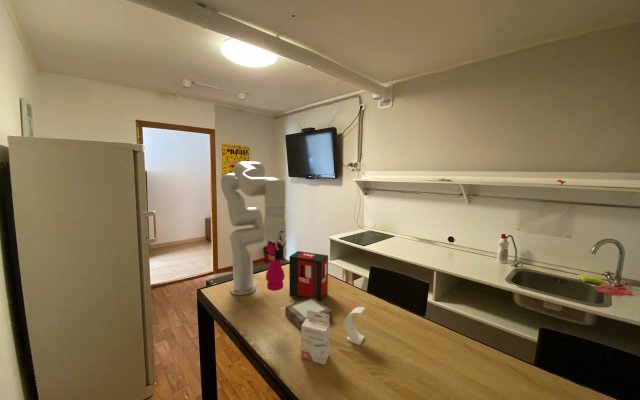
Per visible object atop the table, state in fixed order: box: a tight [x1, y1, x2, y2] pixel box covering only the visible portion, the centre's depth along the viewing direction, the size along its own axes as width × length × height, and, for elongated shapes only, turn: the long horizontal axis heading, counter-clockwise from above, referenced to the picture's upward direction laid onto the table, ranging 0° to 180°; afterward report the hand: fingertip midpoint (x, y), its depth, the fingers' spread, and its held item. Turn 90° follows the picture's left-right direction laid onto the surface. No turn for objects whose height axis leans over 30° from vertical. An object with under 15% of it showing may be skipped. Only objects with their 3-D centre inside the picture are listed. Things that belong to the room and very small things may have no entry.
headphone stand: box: [344, 306, 366, 346], centre depth 94 cm, size 5×6×12 cm
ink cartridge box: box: [300, 310, 331, 366], centre depth 84 cm, size 9×5×15 cm, turn 71°
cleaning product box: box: [288, 250, 329, 303], centre depth 126 cm, size 16×9×20 cm, turn 68°
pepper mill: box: [265, 242, 285, 292], centre depth 100 cm, size 7×7×20 cm
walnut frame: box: [285, 297, 333, 330], centre depth 107 cm, size 14×14×4 cm
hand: (275, 256), depth 100 cm, fingers closed on pepper mill, 6 cm apart
